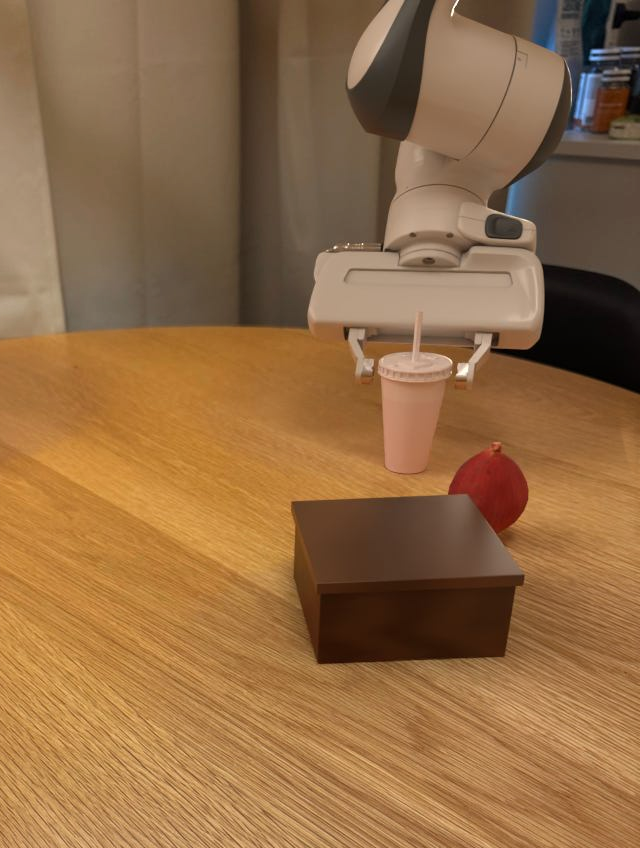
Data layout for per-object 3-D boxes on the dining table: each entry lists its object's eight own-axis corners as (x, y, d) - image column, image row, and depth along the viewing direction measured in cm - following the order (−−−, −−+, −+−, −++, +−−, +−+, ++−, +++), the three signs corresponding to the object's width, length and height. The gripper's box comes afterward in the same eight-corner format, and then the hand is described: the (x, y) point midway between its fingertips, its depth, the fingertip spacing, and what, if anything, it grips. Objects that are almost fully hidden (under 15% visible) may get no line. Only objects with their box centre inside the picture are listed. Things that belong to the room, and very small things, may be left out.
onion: (428, 538, 79) (438, 441, 75) (472, 517, 82) (484, 422, 78) (492, 562, 75) (506, 461, 71) (535, 539, 78) (552, 440, 74)
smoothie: (366, 476, 91) (377, 317, 83) (374, 451, 96) (386, 300, 89) (439, 481, 89) (457, 320, 82) (443, 456, 94) (461, 302, 87)
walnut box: (458, 568, 75) (468, 493, 72) (511, 658, 64) (525, 574, 61) (288, 575, 75) (291, 500, 72) (313, 666, 64) (317, 583, 61)
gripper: (315, 222, 91) (291, 360, 88) (555, 224, 85) (538, 371, 82) (321, 264, 97) (299, 394, 94) (547, 268, 91) (530, 407, 88)
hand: (412, 384), depth 88 cm, fingers open, 7 cm apart
